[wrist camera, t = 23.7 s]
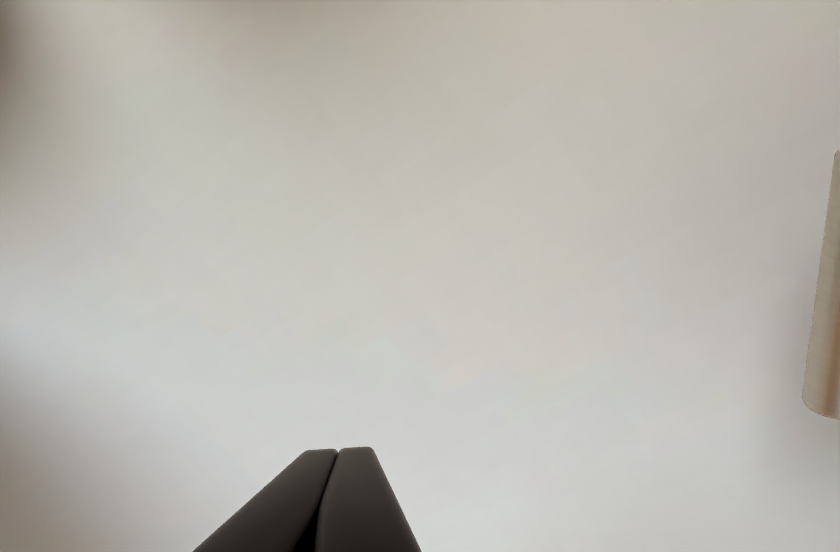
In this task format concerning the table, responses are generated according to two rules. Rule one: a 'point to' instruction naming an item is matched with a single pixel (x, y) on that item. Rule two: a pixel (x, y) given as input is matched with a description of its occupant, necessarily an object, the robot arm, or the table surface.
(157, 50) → the table surface
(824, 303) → the drawer
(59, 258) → the table surface
